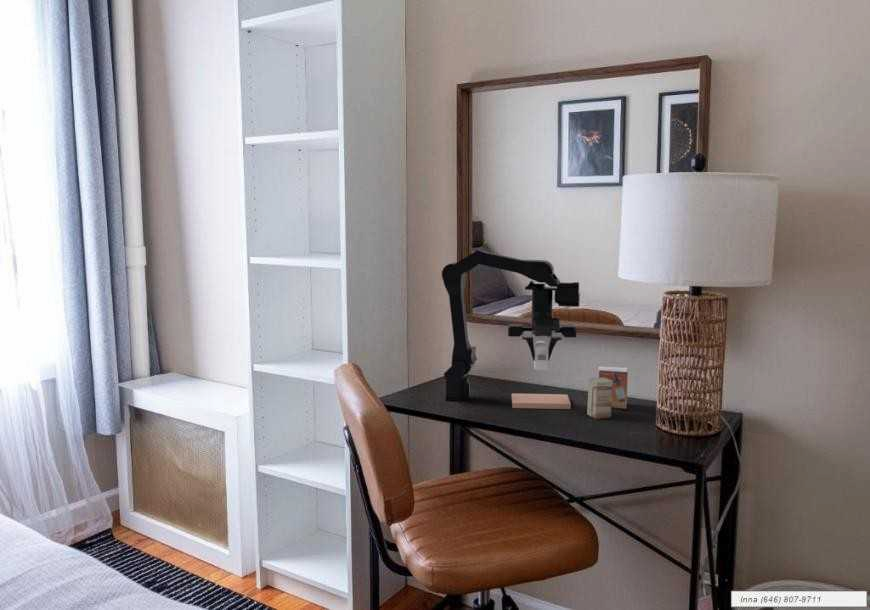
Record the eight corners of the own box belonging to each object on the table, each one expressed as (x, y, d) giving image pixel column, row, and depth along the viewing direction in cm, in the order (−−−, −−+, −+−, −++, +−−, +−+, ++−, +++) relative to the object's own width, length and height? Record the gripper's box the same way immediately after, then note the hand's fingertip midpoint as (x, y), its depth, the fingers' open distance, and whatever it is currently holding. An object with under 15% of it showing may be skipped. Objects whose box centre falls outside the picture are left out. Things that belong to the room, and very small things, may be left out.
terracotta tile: (512, 407, 200) (512, 402, 200) (511, 398, 210) (511, 393, 210) (570, 409, 199) (570, 403, 199) (567, 399, 209) (567, 394, 209)
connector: (535, 370, 200) (535, 344, 199) (533, 365, 206) (534, 340, 205) (548, 370, 199) (548, 345, 198) (546, 366, 205) (547, 340, 204)
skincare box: (595, 419, 190) (596, 382, 188) (586, 414, 194) (587, 378, 192) (612, 417, 191) (613, 380, 190) (603, 412, 195) (604, 376, 194)
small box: (597, 407, 201) (598, 370, 200) (597, 401, 207) (598, 365, 205) (626, 408, 199) (628, 371, 198) (626, 403, 205) (627, 367, 203)
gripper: (509, 309, 194) (508, 366, 196) (579, 310, 192) (577, 367, 194) (508, 304, 205) (507, 357, 207) (574, 304, 203) (573, 358, 205)
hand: (540, 360), depth 203 cm, fingers closed on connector, 4 cm apart
